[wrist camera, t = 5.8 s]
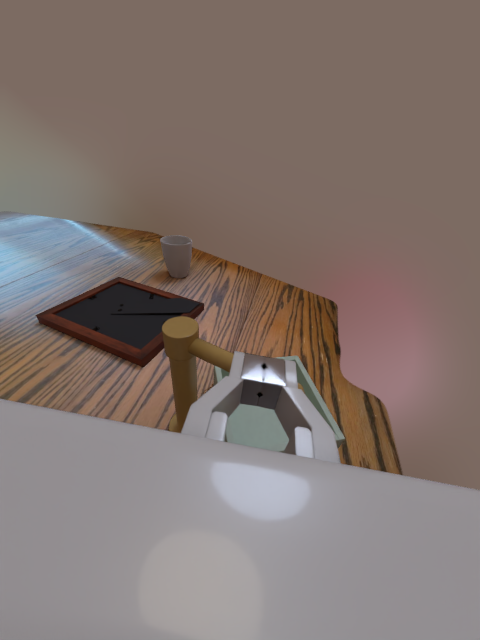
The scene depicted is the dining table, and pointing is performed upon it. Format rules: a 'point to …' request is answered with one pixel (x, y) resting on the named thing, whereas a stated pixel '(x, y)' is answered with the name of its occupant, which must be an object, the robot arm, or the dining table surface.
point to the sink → (271, 417)
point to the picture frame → (121, 318)
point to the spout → (193, 344)
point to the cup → (177, 255)
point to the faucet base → (183, 390)
